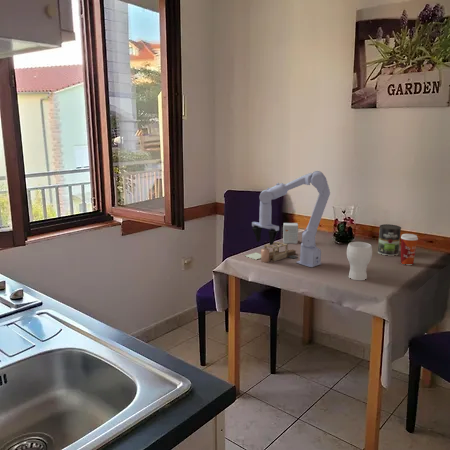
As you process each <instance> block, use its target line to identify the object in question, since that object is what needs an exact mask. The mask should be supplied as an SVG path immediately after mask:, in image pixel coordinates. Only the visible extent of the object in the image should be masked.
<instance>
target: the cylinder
mask: <svg viewBox="0 0 450 450" xmlns="http://www.w3.org/2000/svg"><path fill="white" fill-rule="evenodd" d="M260 250H261V251H260V254H261V259H260V262H261V263H263V262H264V263H265V264H266V263H270V260H269V252H270V249H269V248H261V249H260ZM264 263H263V264H264Z"/></svg>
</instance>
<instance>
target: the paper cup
mask: <svg viewBox="0 0 450 450" xmlns="http://www.w3.org/2000/svg"><path fill="white" fill-rule="evenodd" d="M400 240H401V241H400V264H401V263H402V264H413V265H414V263H415V262H414V261H415V257H416V250H417V244H418V240H419V238H418V236H417V234H413V233H403V234H401V235H400ZM402 264H401V265H402Z"/></svg>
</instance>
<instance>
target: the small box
mask: <svg viewBox="0 0 450 450" xmlns="http://www.w3.org/2000/svg"><path fill="white" fill-rule="evenodd" d="M282 226H283V227H282V231H283V232H282V233H283V234H282V241H283V242H282V243H284V244H293V245H294V244H298V241H299V224H298V222H283V225H282Z"/></svg>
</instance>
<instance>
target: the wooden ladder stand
mask: <svg viewBox="0 0 450 450" xmlns="http://www.w3.org/2000/svg"><path fill="white" fill-rule="evenodd" d="M288 245H289V243H283V242H280V241H274V243H273V244H272V245H270V243H267V244H264V248H267V247H268V248H272V251H269V254H273V259H272V262H276V261H279V260H282V259H283V260H284V259H286V258H288V257H287V252H288V250H289V248H288V247H289V246H288ZM282 247H285V249H284V251H285V253H282V254H278V255H275V253H278V252H280V248H282ZM268 248H267V249H268Z"/></svg>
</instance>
